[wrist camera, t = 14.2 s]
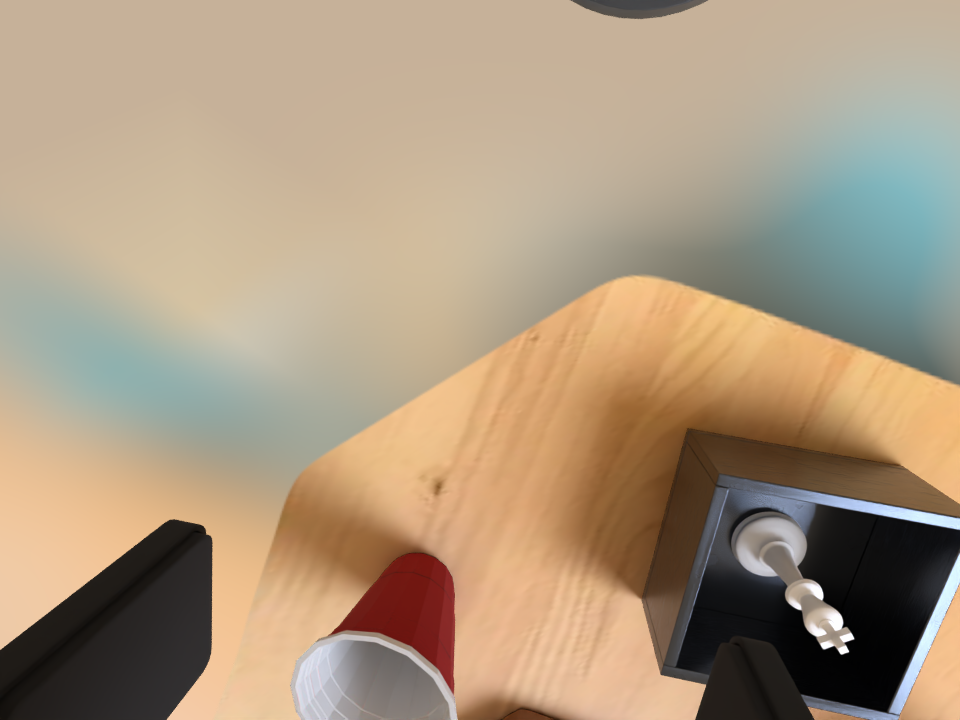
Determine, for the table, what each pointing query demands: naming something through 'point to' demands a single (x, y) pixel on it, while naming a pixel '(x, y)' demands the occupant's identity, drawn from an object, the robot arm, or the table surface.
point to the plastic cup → (386, 651)
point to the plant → (526, 716)
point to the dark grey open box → (804, 569)
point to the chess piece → (788, 571)
